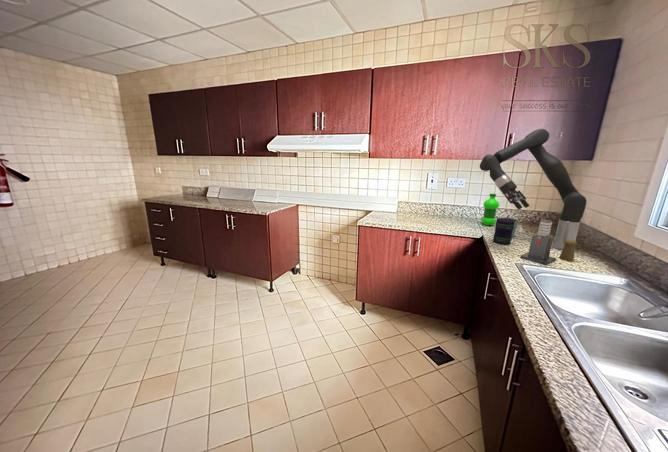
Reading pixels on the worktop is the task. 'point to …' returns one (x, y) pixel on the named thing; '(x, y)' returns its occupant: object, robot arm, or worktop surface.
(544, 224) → the column
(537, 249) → the stand base
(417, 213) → the worktop surface
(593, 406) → the worktop surface
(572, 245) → the cork
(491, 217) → the plastic bottle
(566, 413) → the worktop surface
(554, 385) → the worktop surface
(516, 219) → the drinking glass
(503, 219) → the storage jar
